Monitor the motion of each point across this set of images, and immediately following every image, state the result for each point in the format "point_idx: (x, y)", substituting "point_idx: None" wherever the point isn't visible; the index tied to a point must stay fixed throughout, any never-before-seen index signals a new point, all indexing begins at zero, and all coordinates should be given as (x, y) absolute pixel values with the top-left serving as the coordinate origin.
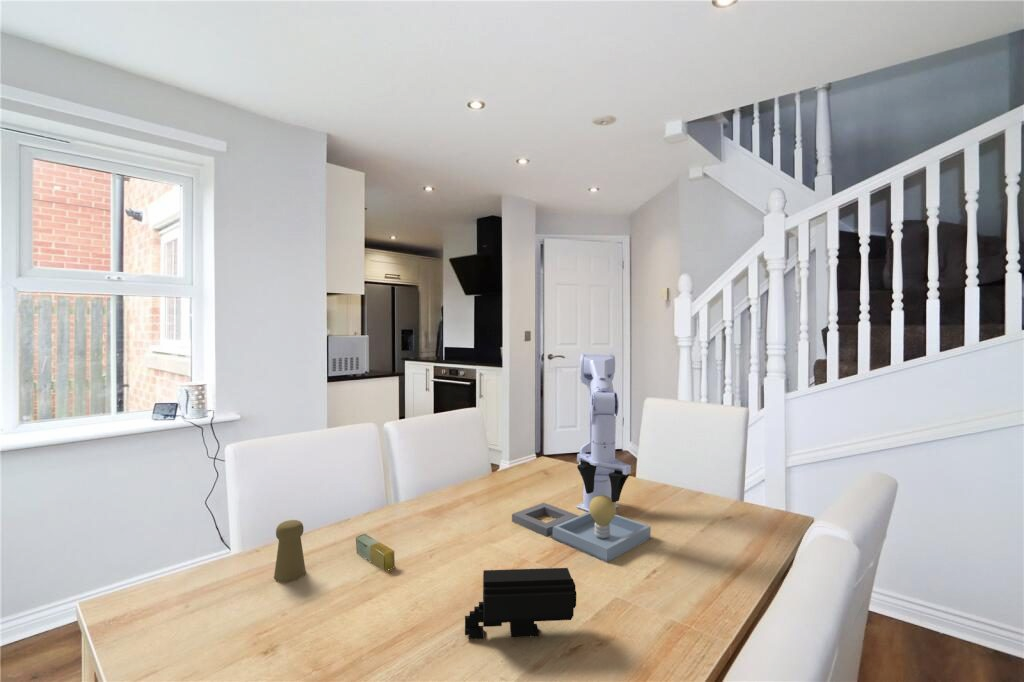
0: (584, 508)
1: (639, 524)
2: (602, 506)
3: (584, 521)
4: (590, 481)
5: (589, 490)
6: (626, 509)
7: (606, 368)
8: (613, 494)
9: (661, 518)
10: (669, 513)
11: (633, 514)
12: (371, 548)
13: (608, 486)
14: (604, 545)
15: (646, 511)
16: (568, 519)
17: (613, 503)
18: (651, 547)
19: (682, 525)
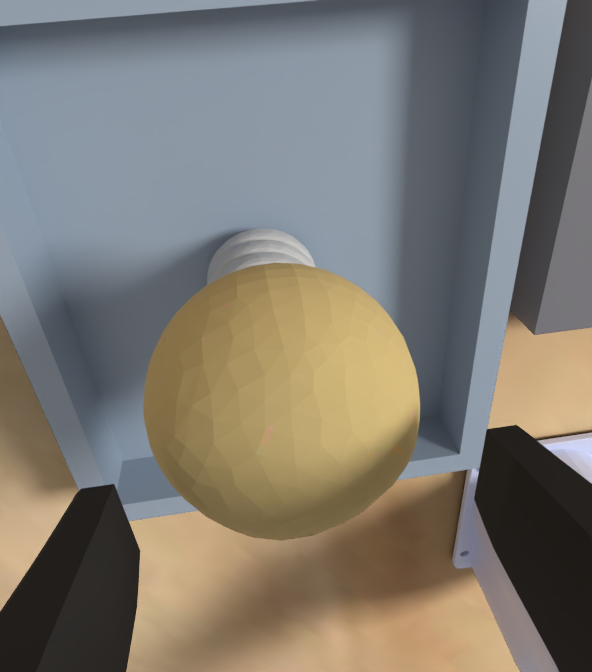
0: (572, 443)
1: (151, 500)
2: (197, 368)
3: (461, 314)
4: (568, 602)
5: (501, 476)
6: (411, 570)
7: None
8: (34, 580)
9: (247, 612)
10: (261, 652)
11: (356, 562)
12: None
13: (532, 641)
14: (143, 181)
15: (336, 609)
16: (557, 234)
17: (180, 494)
18: (13, 409)
19: (144, 629)
